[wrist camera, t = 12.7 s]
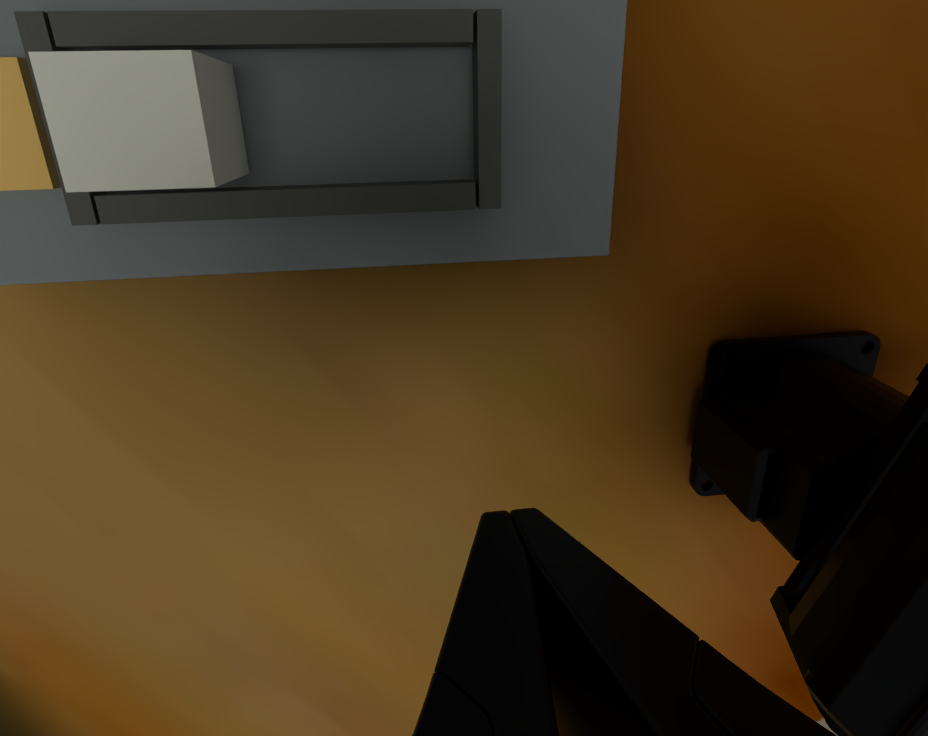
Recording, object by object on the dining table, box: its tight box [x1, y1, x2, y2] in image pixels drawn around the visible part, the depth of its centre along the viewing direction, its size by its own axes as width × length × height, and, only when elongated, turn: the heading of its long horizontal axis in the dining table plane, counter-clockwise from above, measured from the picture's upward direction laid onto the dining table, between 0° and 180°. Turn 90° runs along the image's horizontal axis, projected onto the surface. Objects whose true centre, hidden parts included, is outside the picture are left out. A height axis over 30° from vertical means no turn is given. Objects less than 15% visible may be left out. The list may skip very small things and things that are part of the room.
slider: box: [28, 50, 249, 192], centre depth 14 cm, size 3×3×4 cm
